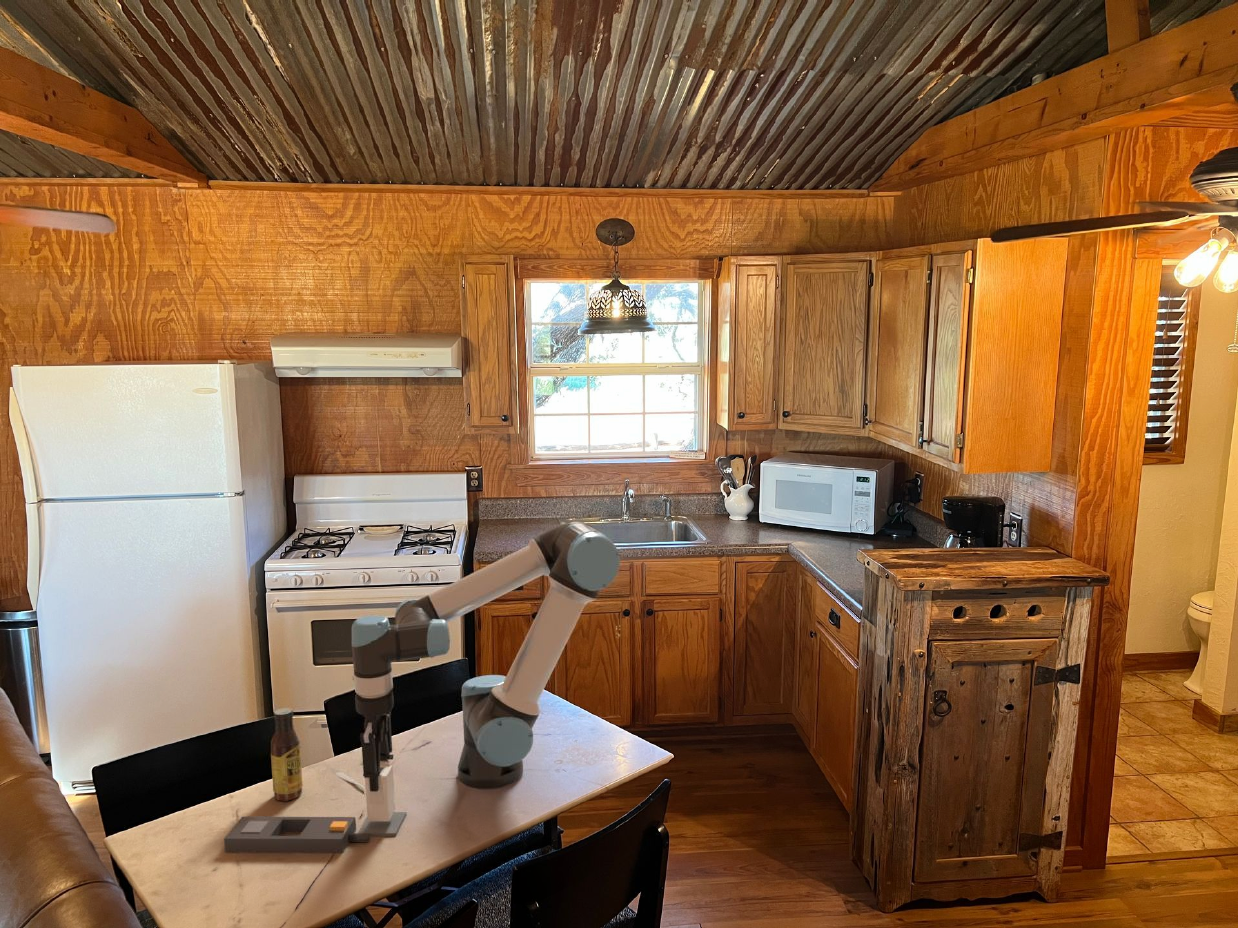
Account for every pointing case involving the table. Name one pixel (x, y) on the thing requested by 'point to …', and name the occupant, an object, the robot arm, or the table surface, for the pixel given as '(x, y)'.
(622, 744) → the table surface
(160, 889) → the table surface
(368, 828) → the mat
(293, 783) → the sauce bottle
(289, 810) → the table surface
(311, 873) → the table surface
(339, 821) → the power strip
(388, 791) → the block
